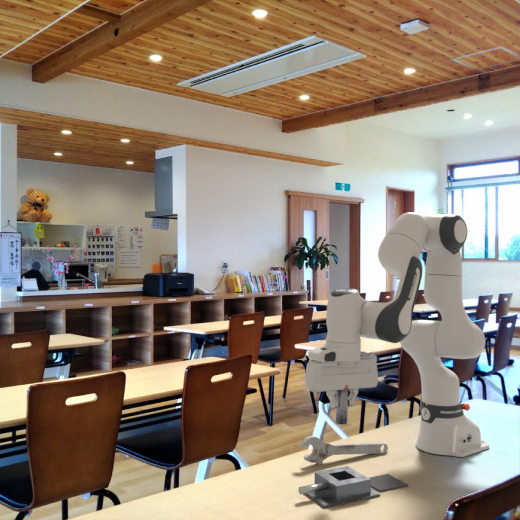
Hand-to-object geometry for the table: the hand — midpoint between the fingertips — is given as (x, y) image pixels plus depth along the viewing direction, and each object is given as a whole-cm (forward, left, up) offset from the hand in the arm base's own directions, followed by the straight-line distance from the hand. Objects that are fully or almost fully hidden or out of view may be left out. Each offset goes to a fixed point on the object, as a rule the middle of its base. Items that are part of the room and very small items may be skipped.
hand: (341, 406), depth 147 cm
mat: (-11, +3, -20) cm, 23 cm away
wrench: (-13, -16, -21) cm, 29 cm away
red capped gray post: (0, 0, -4) cm, 4 cm away
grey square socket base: (+4, +3, -20) cm, 21 cm away
